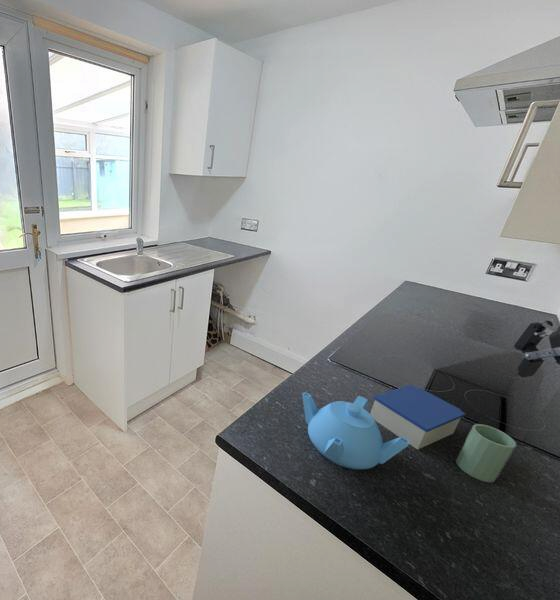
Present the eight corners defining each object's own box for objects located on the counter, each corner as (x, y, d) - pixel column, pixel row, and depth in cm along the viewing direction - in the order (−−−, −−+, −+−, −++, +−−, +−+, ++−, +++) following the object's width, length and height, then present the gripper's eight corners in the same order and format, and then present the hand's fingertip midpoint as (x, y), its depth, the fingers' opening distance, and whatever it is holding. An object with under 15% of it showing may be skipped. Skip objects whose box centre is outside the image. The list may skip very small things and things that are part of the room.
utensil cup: (465, 454, 68) (482, 421, 64) (501, 476, 62) (522, 442, 59) (449, 462, 65) (466, 428, 62) (486, 486, 60) (507, 451, 57)
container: (406, 402, 84) (414, 383, 81) (458, 432, 74) (469, 412, 72) (367, 416, 77) (374, 396, 75) (418, 451, 68) (427, 429, 65)
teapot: (401, 480, 60) (420, 437, 57) (324, 477, 60) (338, 433, 56) (355, 423, 75) (368, 386, 71) (293, 421, 74) (302, 383, 71)
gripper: (727, 346, 36) (634, 428, 45) (580, 285, 48) (528, 360, 57) (663, 356, 36) (582, 437, 45) (531, 293, 48) (487, 367, 57)
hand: (552, 394), depth 51 cm, fingers open, 8 cm apart
